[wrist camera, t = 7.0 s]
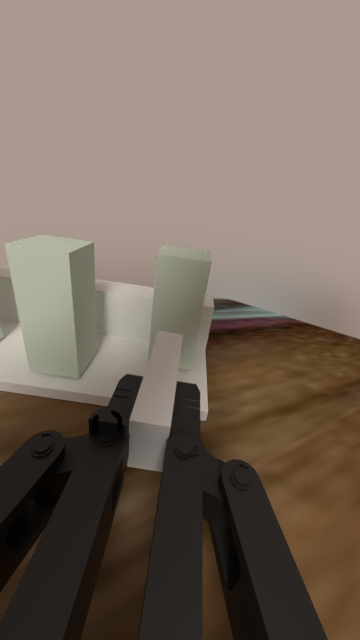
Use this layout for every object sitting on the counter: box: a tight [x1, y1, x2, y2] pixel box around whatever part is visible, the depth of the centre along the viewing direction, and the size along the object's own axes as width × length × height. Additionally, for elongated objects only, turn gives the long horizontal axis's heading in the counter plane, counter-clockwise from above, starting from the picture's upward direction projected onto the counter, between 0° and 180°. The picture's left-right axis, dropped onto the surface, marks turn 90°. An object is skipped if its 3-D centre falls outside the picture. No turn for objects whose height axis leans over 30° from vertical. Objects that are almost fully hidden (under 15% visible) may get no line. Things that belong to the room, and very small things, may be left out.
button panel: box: [0, 265, 214, 421], centre depth 23 cm, size 25×12×6 cm, turn 86°
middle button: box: [5, 235, 97, 378], centre depth 19 cm, size 4×4×10 cm
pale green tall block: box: [148, 245, 211, 370], centre depth 22 cm, size 4×4×10 cm
